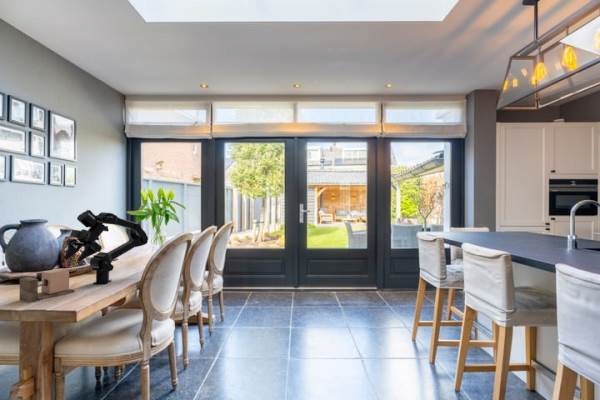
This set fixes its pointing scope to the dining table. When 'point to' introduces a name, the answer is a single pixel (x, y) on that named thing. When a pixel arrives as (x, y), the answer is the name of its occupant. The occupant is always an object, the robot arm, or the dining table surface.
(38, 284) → the bolt
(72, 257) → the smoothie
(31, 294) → the stop block
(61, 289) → the pink box
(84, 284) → the dining table surface
